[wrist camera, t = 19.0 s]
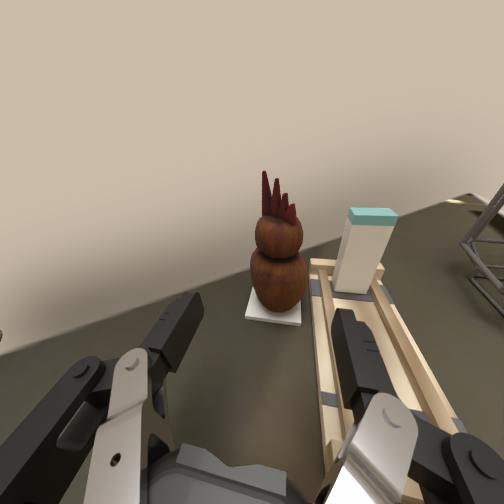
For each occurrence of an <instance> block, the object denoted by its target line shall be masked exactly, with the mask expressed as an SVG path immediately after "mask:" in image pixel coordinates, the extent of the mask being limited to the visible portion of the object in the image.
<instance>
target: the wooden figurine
mask: <svg viewBox="0 0 504 504" xmlns="http://www.w3.org/2000/svg"><path fill="white" fill-rule="evenodd" d="M255 241H256V245H257V248H256V250H255V251H254V252H253V254H252V256H251V261H250V270H251V280H252V284H253V287H254V290H255V293H256V295H257V298H258V300H259V302H260V303H261V304H262V306H264V307H265V308H266V309H267V310H269V311H272V312H276V313H283V312H286V311H289V310H290V309H292V308H293V307H294V306H296V305H297V304H298V303H299V301H300V300H301V299H302V296H303V294H304V292H305V289H306V287H307V283H308V270H307V267H306V264H305V261H304V259H303V257H302V256H301V255H300V253H299V252H298V251H299V249H300V247H301V244H302V241H303V230H302V226H301V223H300V221H299V220H298V218H297V217H296V209H295V204H291V205H290V206H289V204H288V194H287V193H284V194H283V195H282V199H281V195H280V185H279V179H278V178H276V179H275V182H274V188H273V195H271V191H270V186H269V182H268V178H267V173H266V171H263V172H262V217H261V218H260V219H259V220H258V222H257V225H256V230H255Z"/></svg>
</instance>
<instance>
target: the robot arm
mask: <svg viewBox="0 0 504 504" xmlns="http://www.w3.org/2000/svg"><path fill="white" fill-rule="evenodd" d="M203 314H204V307H203V304H202V301H201V297H200V294H199V293H198V292H191V291H186V292H184V294H183V295H182V296H181V298H180V299H176V300H175V301H173V302H172V303H171V304H170V305H169V306H168V307H167V309H166V310H165V311H164V314H162V316H161V317H160V318H159V320H158V321H157V323H156V324H155V325H154V327H153V328H152V330H151V331H150V332H149V334H148V335H147V337H146V338H145V339H144V341H143V342H142V344H141V345H140V346H139V347H138V348H136V349H133V350H131V351H129V352H127V353H126V354H125V355H123V356H122V357H121V358H116V359H111V360H106V361H101V360H100V359H99V358H98V357H97V356H88V357H85V358H83V359H81V360H79V361H78V362H76V363H75V364H74V365H73V366H72V367H71V368H70V369H69V370H68V371H67V372H66V373H65V374H64V375H63V377H62V378H61V379H60V380H59V381H58V382H57V383H56V384H55V386H54V387H53V388H52V389H51V390H50V391H49V392H48V393H47V395H46V396H45V397H44V398H43V399H42V400H41V401H40V402H39V404H38V405H37V406H36V407H35V408H34V409H33V410H32V411H31V413H30V414H29V415H28V416H27V417H26V418H25V419H24V420H23V422H22V423H21V424H20V425H19V426H18V427H17V428H16V429H15V431H14V432H13V433H12V434H11V435H10V436H9V437H8V438H7V440H6V441H5V442H4V443H3V444H2V445H1V446H0V504H59V502H60V501H61V499H62V497H63V496H64V494H65V492H66V490H67V489H68V487H69V485H70V484H71V482H72V480H73V479H74V477H75V475H76V474H77V472H78V470H79V469H80V467H81V465H82V464H83V462H84V460H85V459H86V457H87V455H88V454H89V452H90V450H91V448H92V447H93V445H94V447H93V453H92V458H91V464H90V470H89V475H88V481H87V487H86V493H85V498H84V504H310V502H309V501H308V499H307V498H306V496H305V495H304V494H303V493H302V491H301V490H300V489H299V488H298V487H297V486H296V485H295V484H294V483H293V482H292V481H291V480H289V479H288V478H286V472H284V471H281V470H277V469H274V468H270V467H267V466H263V465H260V464H256V465H248V466H239V467H228V466H227V465H225V464H224V463H223V462H221V461H220V460H219V459H218V458H216V457H215V456H214V455H213V454H211V453H210V452H209V451H207V450H206V449H203V448H200V447H196V446H193V445H189V444H186V443H182V446H181V448H180V449H177V450H175V449H174V438H173V432H172V429H171V426H170V423H169V417H168V404H167V391H166V380H165V377H166V375H167V373H168V372H173V373H176V371H177V369H178V367H179V365H180V363H181V361H182V359H183V357H184V355H185V353H186V351H187V349H188V347H189V344H190V342H191V340H192V338H193V336H194V334H195V332H196V330H197V328H198V326H199V324H200V322H201V320H202V318H203ZM331 338H332V344H333V349H334V355H335V360H336V366H337V372H338V377H339V383H340V388H341V394H342V399H343V405H344V409H349V410H352V412H353V417H354V422H353V424H352V426H351V428H350V430H349V432H348V434H347V436H346V438H345V440H344V442H343V444H342V446H341V448H340V450H339V452H338V454H337V456H336V459H335V461H334V462H333V464H332V466H331V468H330V469H329V471H328V473H327V475H326V476H325V478H324V480H323V482H322V484H321V486H320V488H319V490H318V492H317V494H316V496H315V498H314V500H313V502H312V504H401V497H402V493H403V489H404V486H405V482H406V478H407V477H409V478H410V479H412V480H413V481H415V482H417V483H418V484H419V487H420V490H421V493H422V497H423V500H424V503H425V504H504V461H503V459H502V458H501V457H500V456H499V455H498V454H497V453H496V452H495V451H494V450H493V449H492V448H491V447H489V446H488V445H487V444H486V443H484V442H483V441H481V440H480V439H478V438H476V437H474V436H472V435H470V434H467V433H463V432H458V433H455V434H453V435H452V434H450V433H448V432H446V431H444V430H442V429H440V428H438V427H436V426H434V425H432V424H430V423H428V422H426V421H424V420H423V419H421V418H419V417H418V416H416V415H415V414H414V413H412V412H411V411H410V410H409V409H408V408H407V406H406V405H405V404H404V403H403V402H402V401H401V400H400V398H399V397H398V395H397V393H396V391H395V389H394V386H393V384H392V381H391V379H390V376H389V374H388V371H387V368H386V366H385V363H384V361H383V358H382V356H381V354H380V350H379V348H378V345H377V344H376V340H375V338H374V335H373V332H372V331H371V329H370V328H369V327H368V326H367V325H366V323H365V322H364V321H357V320H356V317H355V314H354V311H353V310H352V309H344V308H336V310H335V314H334V317H333V320H332V324H331ZM1 339H2V331H1V330H0V341H1ZM84 401H85V404H84V405H83V407H82V408H81V409H80V411H79V412H78V413H77V415H76V416H75V418H74V419H73V420H72V422H71V423H70V425H69V426H68V427H67V429H66V430H65V432H64V433H63V434H62V436H61V437H60V438H59V440H58V441H57V439H58V437H59V435H60V433H61V432H62V430H63V429H64V428H65V426H66V425H67V423H68V422H69V421H70V419H71V418H72V417H73V415H74V414H75V413H76V411H77V410H78V408H79V407H80V406H81V404H82V403H83V402H84Z"/></svg>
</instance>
